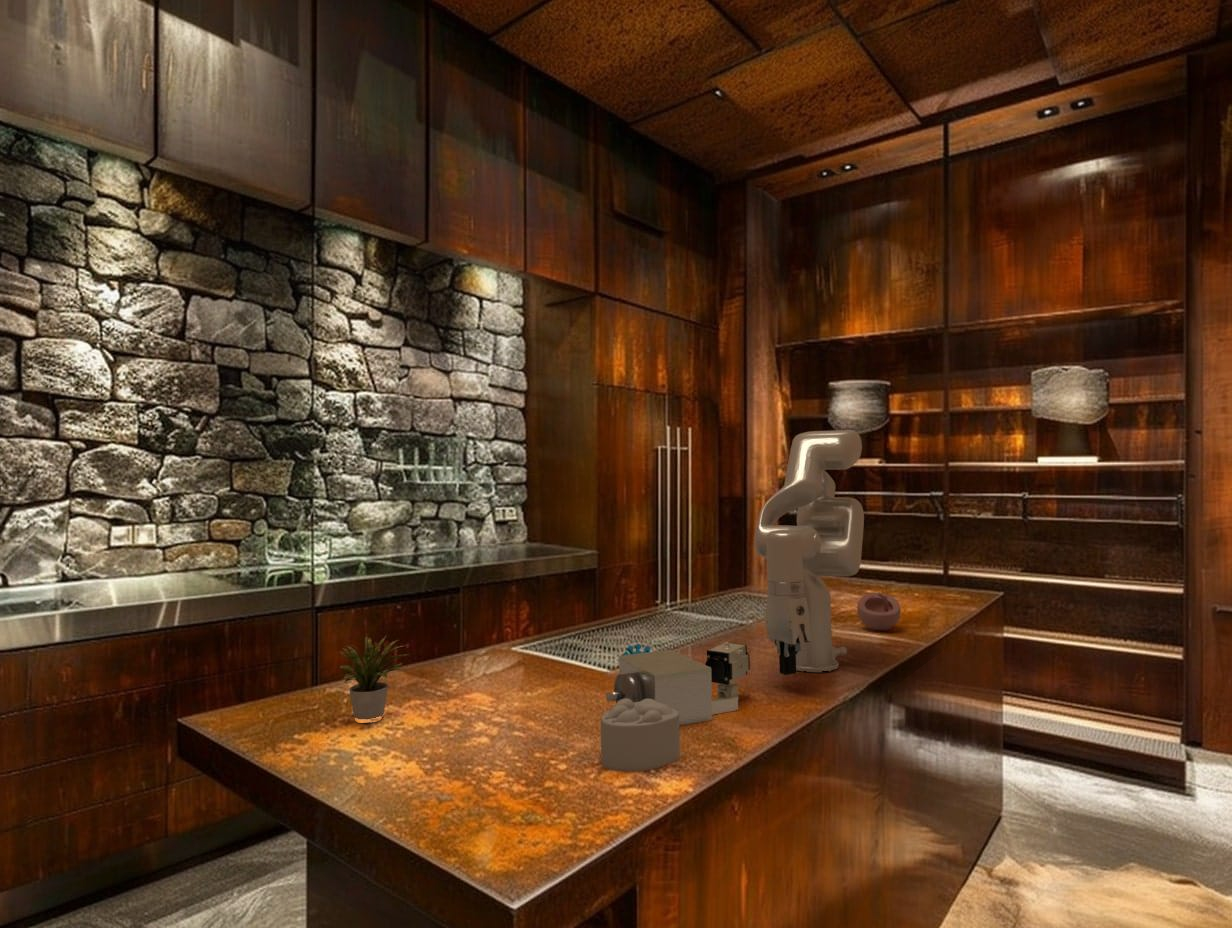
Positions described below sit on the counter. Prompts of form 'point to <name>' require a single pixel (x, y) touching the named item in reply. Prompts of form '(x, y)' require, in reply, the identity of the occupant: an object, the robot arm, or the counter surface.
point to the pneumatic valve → (728, 667)
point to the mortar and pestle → (878, 611)
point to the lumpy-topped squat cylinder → (639, 736)
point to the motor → (670, 685)
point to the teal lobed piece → (638, 646)
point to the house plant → (369, 679)
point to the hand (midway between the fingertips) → (788, 673)
